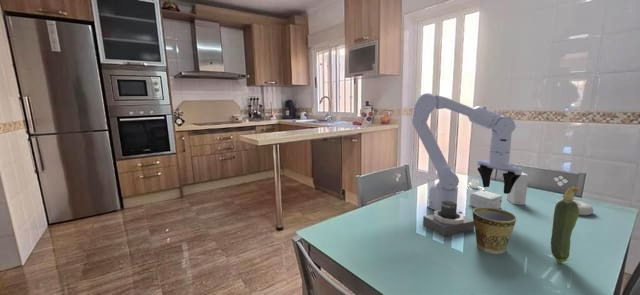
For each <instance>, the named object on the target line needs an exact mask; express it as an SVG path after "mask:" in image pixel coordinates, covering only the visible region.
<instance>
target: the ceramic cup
mask: <svg viewBox="0 0 640 295" xmlns="http://www.w3.org/2000/svg"><path fill="white" fill-rule="evenodd" d="M472 220H473V221H474V232H475V238H476V239H475V240H476V241H475V242H476V247H477V248H478V249H480V250H481V251H483V252H484V253H488V254H492V255H500V254H505V252H506V249H507V247H508V244H509V242H510V241H509V240H510V237H511V235H512V232H513V231H514V228H515V225H516V221H517V217H516V215H514V214H513V213H512V212H509V211H507V210H505V209H504V210H503V209H501V208H498V209H497V208H491V207H474V208H473V209H472Z"/></svg>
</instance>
